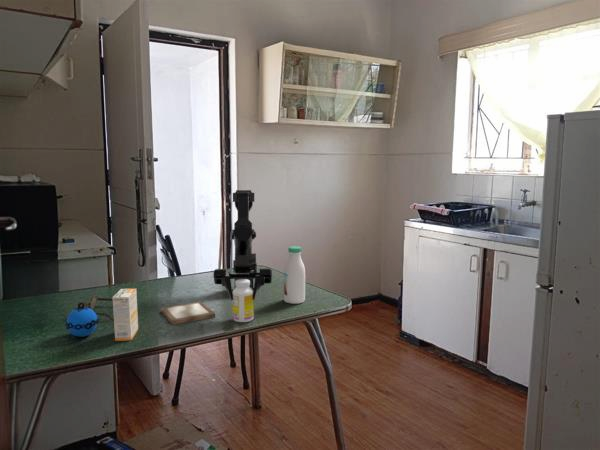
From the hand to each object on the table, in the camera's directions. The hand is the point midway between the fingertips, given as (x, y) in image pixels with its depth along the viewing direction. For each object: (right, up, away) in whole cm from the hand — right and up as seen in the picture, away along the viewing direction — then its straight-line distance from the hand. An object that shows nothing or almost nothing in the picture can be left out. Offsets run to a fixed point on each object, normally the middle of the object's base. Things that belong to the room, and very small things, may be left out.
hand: (242, 299), depth 148 cm
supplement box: (-33, -9, -11) cm, 36 cm away
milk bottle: (+16, -4, +22) cm, 28 cm away
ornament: (-45, -9, -12) cm, 47 cm away
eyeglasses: (-46, -6, +8) cm, 47 cm away
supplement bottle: (0, -7, +2) cm, 7 cm away
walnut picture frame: (-19, -6, +7) cm, 21 cm away
